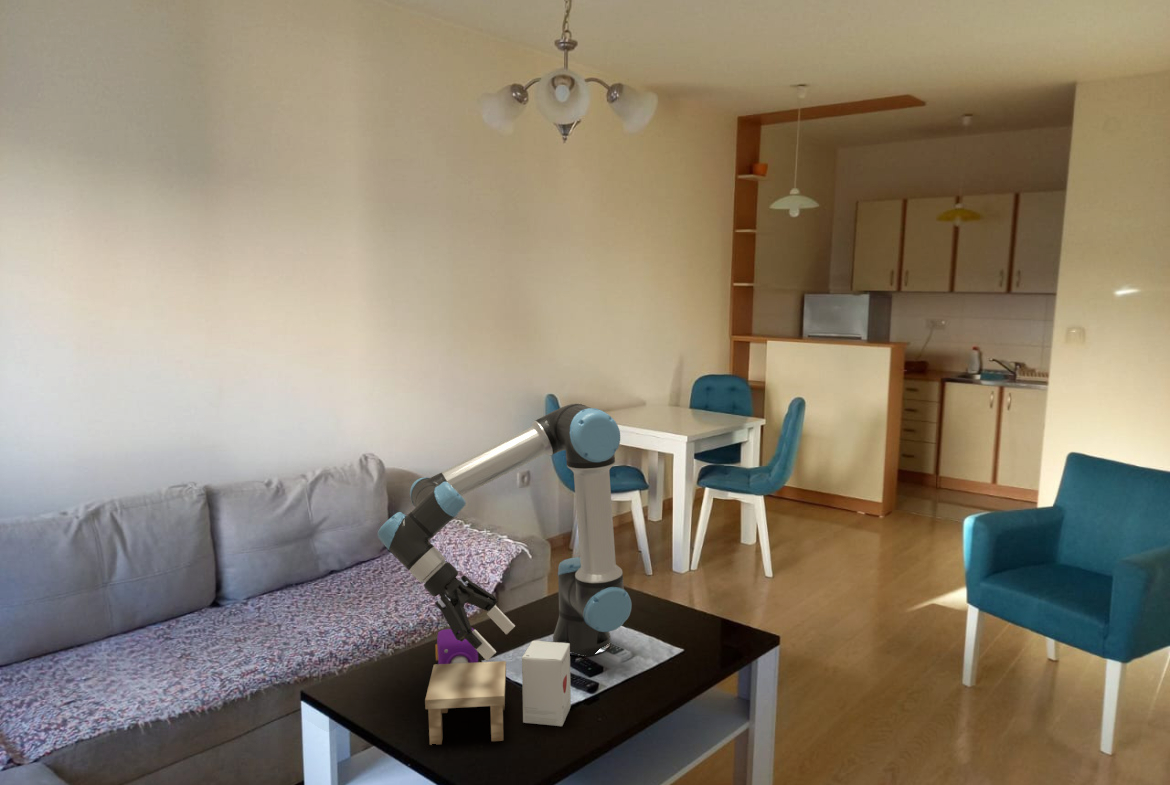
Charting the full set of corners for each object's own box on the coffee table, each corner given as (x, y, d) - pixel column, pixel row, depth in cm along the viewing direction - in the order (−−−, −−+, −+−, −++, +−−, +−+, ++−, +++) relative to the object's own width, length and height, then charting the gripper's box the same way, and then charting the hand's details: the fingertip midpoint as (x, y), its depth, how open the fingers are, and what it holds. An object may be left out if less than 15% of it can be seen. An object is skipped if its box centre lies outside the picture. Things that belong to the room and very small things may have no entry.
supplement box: (562, 727, 171) (561, 660, 169) (522, 723, 173) (520, 657, 171) (572, 706, 180) (570, 642, 178) (533, 702, 182) (531, 639, 180)
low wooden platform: (507, 703, 182) (505, 661, 181) (505, 741, 166) (504, 695, 165) (435, 707, 181) (433, 664, 179) (427, 746, 165) (425, 700, 164)
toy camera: (444, 690, 188) (442, 649, 187) (431, 666, 201) (429, 627, 200) (488, 681, 193) (487, 641, 191) (473, 658, 205) (471, 620, 204)
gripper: (445, 565, 191) (507, 630, 189) (399, 604, 166) (470, 679, 165) (465, 544, 189) (528, 610, 188) (422, 581, 165) (494, 657, 163)
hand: (501, 642), depth 176 cm, fingers open, 13 cm apart
